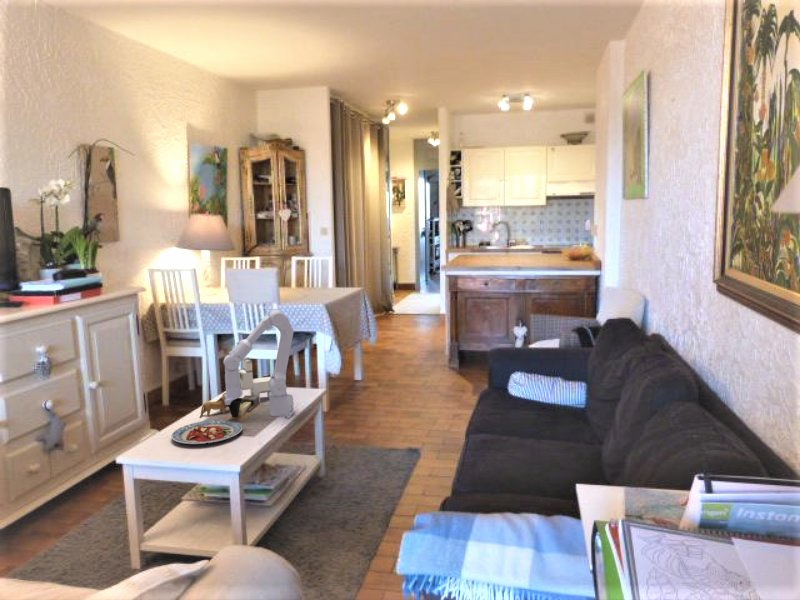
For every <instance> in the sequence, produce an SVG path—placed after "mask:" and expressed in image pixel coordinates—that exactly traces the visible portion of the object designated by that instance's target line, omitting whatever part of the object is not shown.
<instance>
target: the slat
mask: <svg viewBox="0 0 800 600" xmlns="http://www.w3.org/2000/svg"><path fill="white" fill-rule="evenodd" d="M251 407H252V404H251V402H244V403H243V404H242V405H240V409H239V415H238V416H243V415H244V414H245V413H246V412H247V411H248V409H250V408H251Z"/></svg>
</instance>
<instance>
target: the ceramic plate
mask: <svg viewBox="0 0 800 600" xmlns="http://www.w3.org/2000/svg"><path fill="white" fill-rule="evenodd" d="M221 427H224V428H221ZM225 427H226V428H225ZM242 430H243V425H242V424H241V423H239V422H236V421H228V420H224V419H211V420H205V421H198V422H193V423H189V424H186V425H184V426H180V427H179V428H177V429H175V430H174V431H173V432H172V433H171V439H172V440H173V441H174V442H177V443H179V444H187V445H207V444H206V443H208V444H212V443H213V442H214V443H217V442H221V441H224V440H228V439H231V438H232V437H235V436H237V435H238V434H240V433H241V432H242Z"/></svg>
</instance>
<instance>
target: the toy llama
mask: <svg viewBox="0 0 800 600" xmlns="http://www.w3.org/2000/svg"><path fill="white" fill-rule="evenodd" d="M239 373H240V387H241V390H242V391H246V390H249V391H250V396H259V404H261V394H265V393H266V394H267V398H268V399H269V393H270V392H271V389H270V388H269V385H268V383H269V380H270V379H271V377H272V376H265V377H258V378H254V374H253V373H254V371H253V361H252V359H250V358H249V357H245V358H244V359H243V360H242V369H239Z"/></svg>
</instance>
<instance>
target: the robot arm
mask: <svg viewBox="0 0 800 600" xmlns="http://www.w3.org/2000/svg"><path fill="white" fill-rule="evenodd" d="M273 326H274V327H275V328H276V329H277V330H278V331H279V332H280V338H279V342H278V349H277V354H276V357H275V358H276V359H275V365H274V369H273V372H272V374H271V375H272V377H271V376H270V377H271V379H270V380H269V383H268V385H269V388H270V389H271V392H270V393H269V398H268V400H269V414H270V416H271V417H284V418H285V419H290V418H291V417H292V416H293V414H294V413H295V409H294V408H295V407H294V406H295V405H294V397H293V394H291V393H287V389H288V387H287V384H286V383H287V369H288V363H289V360H290V359H289V358H290V354H291V347H292V341H293V337H294V328H293V326H292V324H291V322H290V319H289V317H288V316H287V315H286V314H285V313H284V312H283V311H281V310H280V309H278V308H273V309H271V310H269V312H268V313H267V314H266V315H264V316H263V318H262V319H261V320H260V322H258V324H257V325H256V326H255V327H254V329H252V331H251V332H250V333H249V335H248V336H247V338H245V339H241V340H240V341H239V340H238V341H237V342H236V346H235V347H234V348H233V349H232V350H231V351H229V352H228V354H227V355H225V356H224V359H223V365H224V373H225V374H224V383H225V393H226V394H225V395H224V397H226V399H225V405H227V406H228V407H227V408H228V409H229V412H230V414H231V415H232V417H238V415H239V409H240V405H241V402H242V398H243V397H242V396H243V393H244V392H243V390H241V387H240V373H239V370H240V369H239V367H240V365H241V362H243V359H244V358H247V356H248V355H249V353H250V352H251V351H252V350H253V344H254V343H255V342H256V341H257V340H258V339H259V338H260V337H261V336H262V334H264V333H265V331H267V330H272V329H273V328H274V327H273Z"/></svg>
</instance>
